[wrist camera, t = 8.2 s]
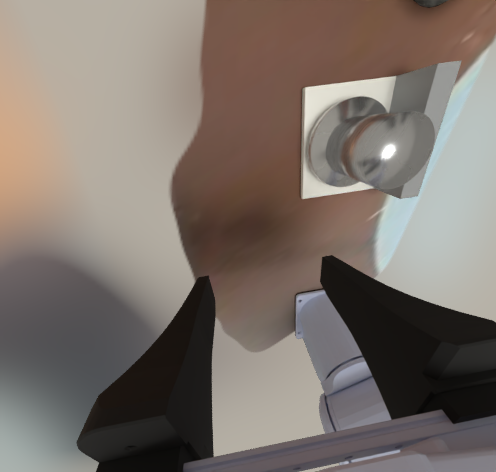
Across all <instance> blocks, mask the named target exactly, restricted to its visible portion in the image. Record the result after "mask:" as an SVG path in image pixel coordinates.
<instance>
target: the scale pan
mask: <svg viewBox="0 0 496 472" xmlns="http://www.w3.org/2000/svg"><path fill="white" fill-rule="evenodd" d="M385 113H388V112H387V110H386V109H385V107H384V106H383V105H382V104H381V103H380V102H379V101H377V100H375V99H373V98H370V97H365V96H359V97H353V98H349V99H345V100H342V101H340V102H338V103H336V104H334V105H333V106H331V107H330V108H329V109H328V110H327V111H325V112H324V114H323V115H322V116H321V117H320V118H319V120H318V121H317V123H316V124H315V126H314V128H313V130H312V132H311V135H310V138H309V143H308V150H307V153H308V162H309V165H310V168H311V170H312V172H313V173H314V175H315V176H316V177H317V178H318V179H319V180H321V181H323V182H324V183H326V184H328V185H331V186H335V187H347V186H351V185H354V184H356V183H358V182H360V181H357V180H354V179H352V178H349V177H347V176H344V175H341V174H339V173H336V172H335V171H333V170H332V169H331V168H330V167H329V165H328V163H327V160H326V146H327V142H328V139H329V137H330V135H331V133H332V132H333V130H334V129H335V128H336V127H337V126H338V125H339V124H340V123H341V122H343V121H344V120H346V119H348V118H350V117H354V116H363V115H374V114H385Z"/></svg>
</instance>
